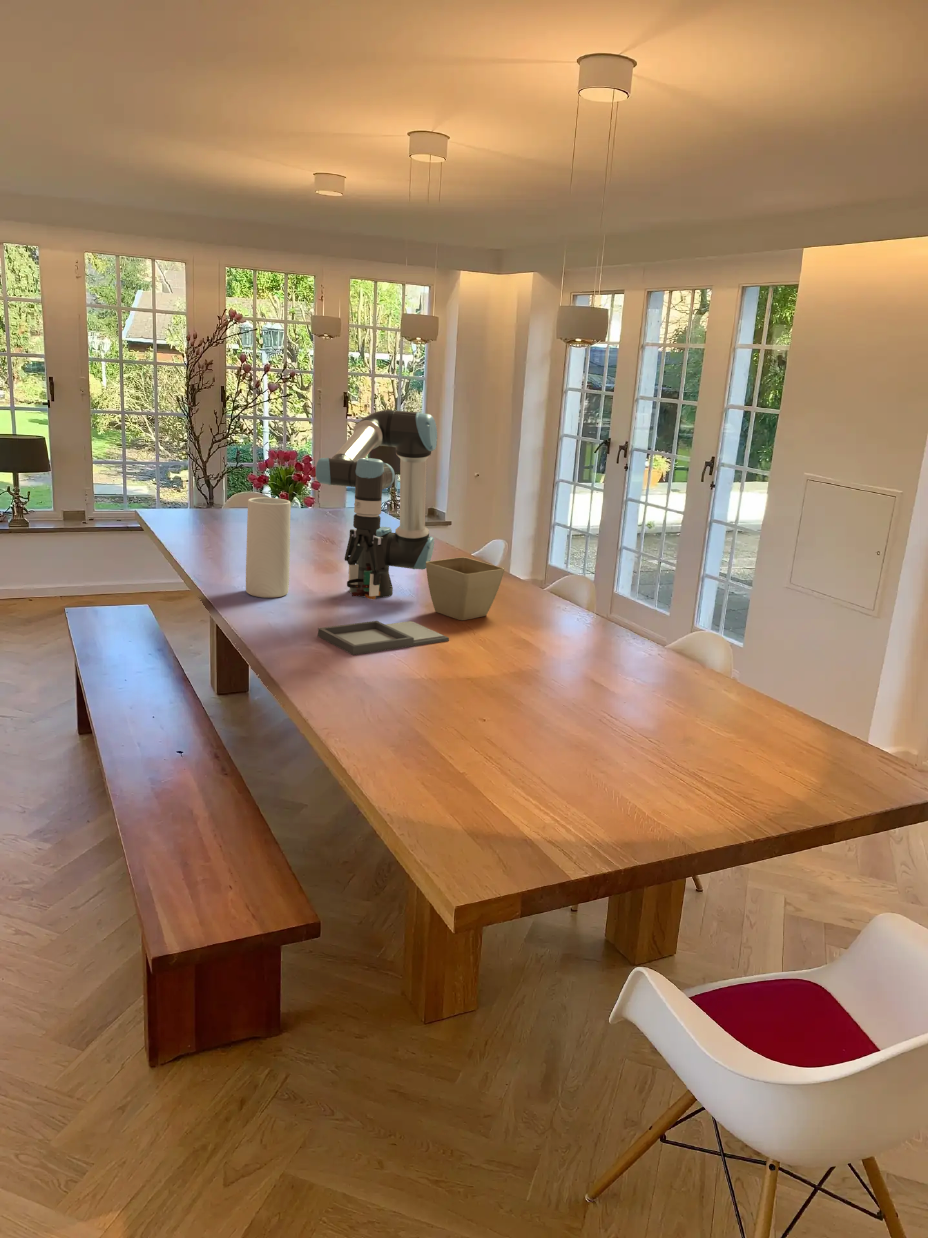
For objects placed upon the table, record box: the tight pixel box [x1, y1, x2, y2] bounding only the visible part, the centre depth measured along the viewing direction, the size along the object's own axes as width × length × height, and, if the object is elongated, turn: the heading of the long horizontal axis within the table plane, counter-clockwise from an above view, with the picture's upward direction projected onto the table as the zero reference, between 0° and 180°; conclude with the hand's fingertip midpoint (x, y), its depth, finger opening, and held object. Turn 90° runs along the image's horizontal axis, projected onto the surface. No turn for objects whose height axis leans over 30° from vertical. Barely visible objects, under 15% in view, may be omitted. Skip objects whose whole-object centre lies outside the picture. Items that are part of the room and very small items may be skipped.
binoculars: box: [346, 563, 381, 600], centre depth 259 cm, size 9×11×10 cm
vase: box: [245, 497, 292, 599], centre depth 303 cm, size 14×14×32 cm
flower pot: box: [425, 556, 505, 621], centre depth 299 cm, size 19×19×17 cm
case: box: [317, 620, 450, 656], centre depth 267 cm, size 33×19×2 cm, turn 129°
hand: (363, 591), depth 260 cm, fingers closed on binoculars, 10 cm apart
